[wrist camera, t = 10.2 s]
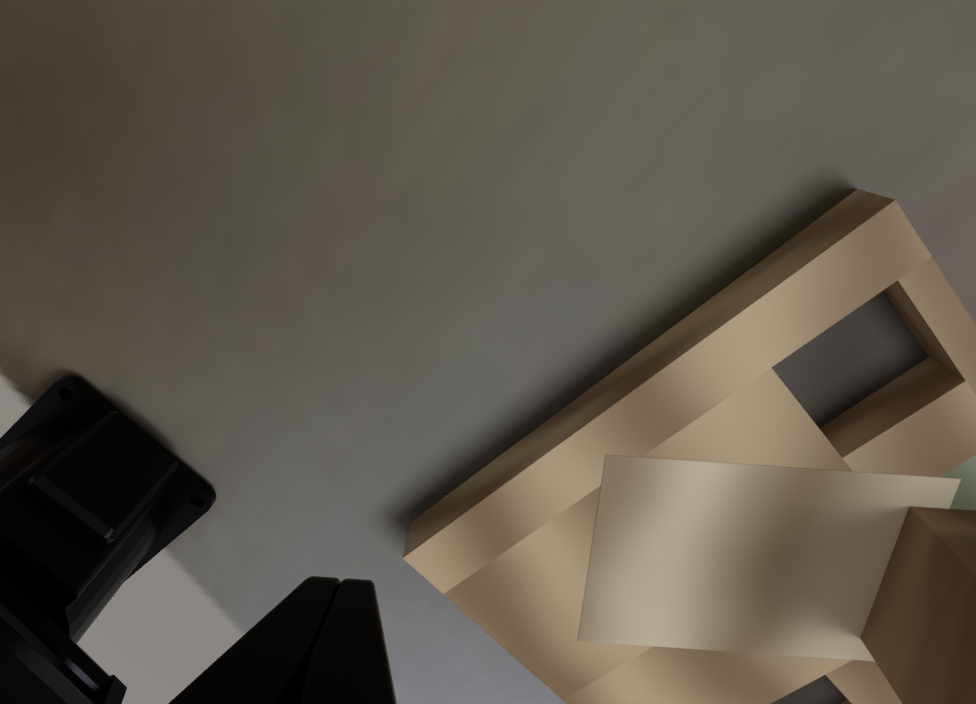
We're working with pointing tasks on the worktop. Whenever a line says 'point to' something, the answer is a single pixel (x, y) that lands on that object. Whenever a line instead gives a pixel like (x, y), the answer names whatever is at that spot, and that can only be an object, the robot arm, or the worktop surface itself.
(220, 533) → the worktop surface
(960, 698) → the walnut box
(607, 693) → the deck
